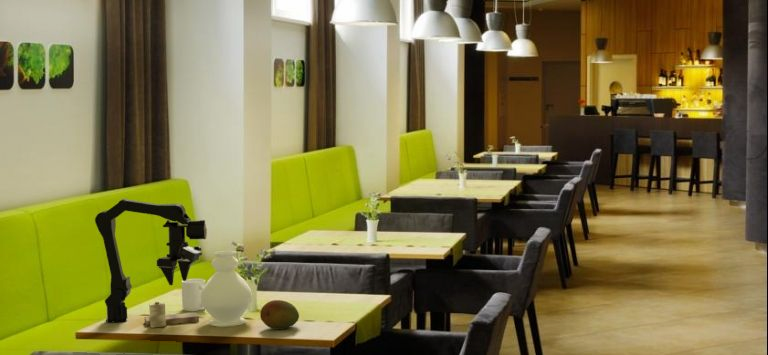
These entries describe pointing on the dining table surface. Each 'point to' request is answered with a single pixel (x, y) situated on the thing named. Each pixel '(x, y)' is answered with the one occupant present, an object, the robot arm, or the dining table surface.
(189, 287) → the mug
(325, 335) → the dining table surface
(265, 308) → the fruit
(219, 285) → the decorative vase
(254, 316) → the dining table surface
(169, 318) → the board
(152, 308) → the beige box with knob
